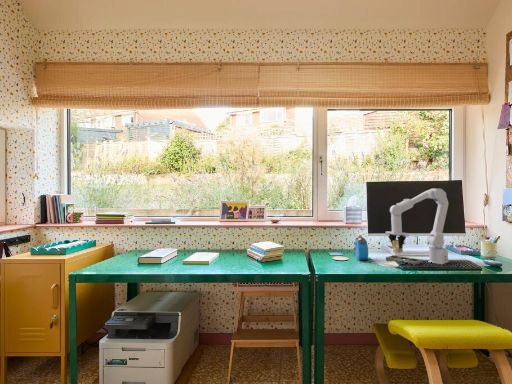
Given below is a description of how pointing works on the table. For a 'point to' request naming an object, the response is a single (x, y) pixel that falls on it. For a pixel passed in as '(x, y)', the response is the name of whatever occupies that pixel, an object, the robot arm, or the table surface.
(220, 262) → the table surface
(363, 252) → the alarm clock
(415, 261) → the rail
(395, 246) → the peg
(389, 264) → the mat
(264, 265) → the table surface
